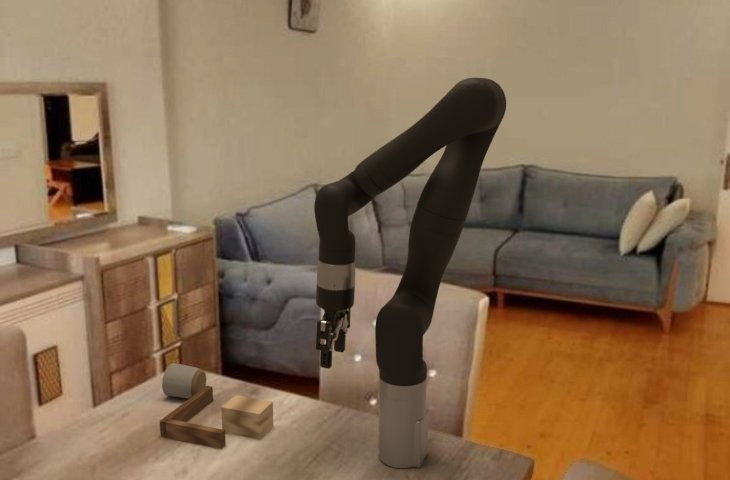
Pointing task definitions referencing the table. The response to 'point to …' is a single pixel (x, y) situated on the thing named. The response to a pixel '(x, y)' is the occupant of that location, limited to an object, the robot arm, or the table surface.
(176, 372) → the ceramic mug
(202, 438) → the corner fence
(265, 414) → the oak block
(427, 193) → the robot arm
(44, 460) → the table surface
